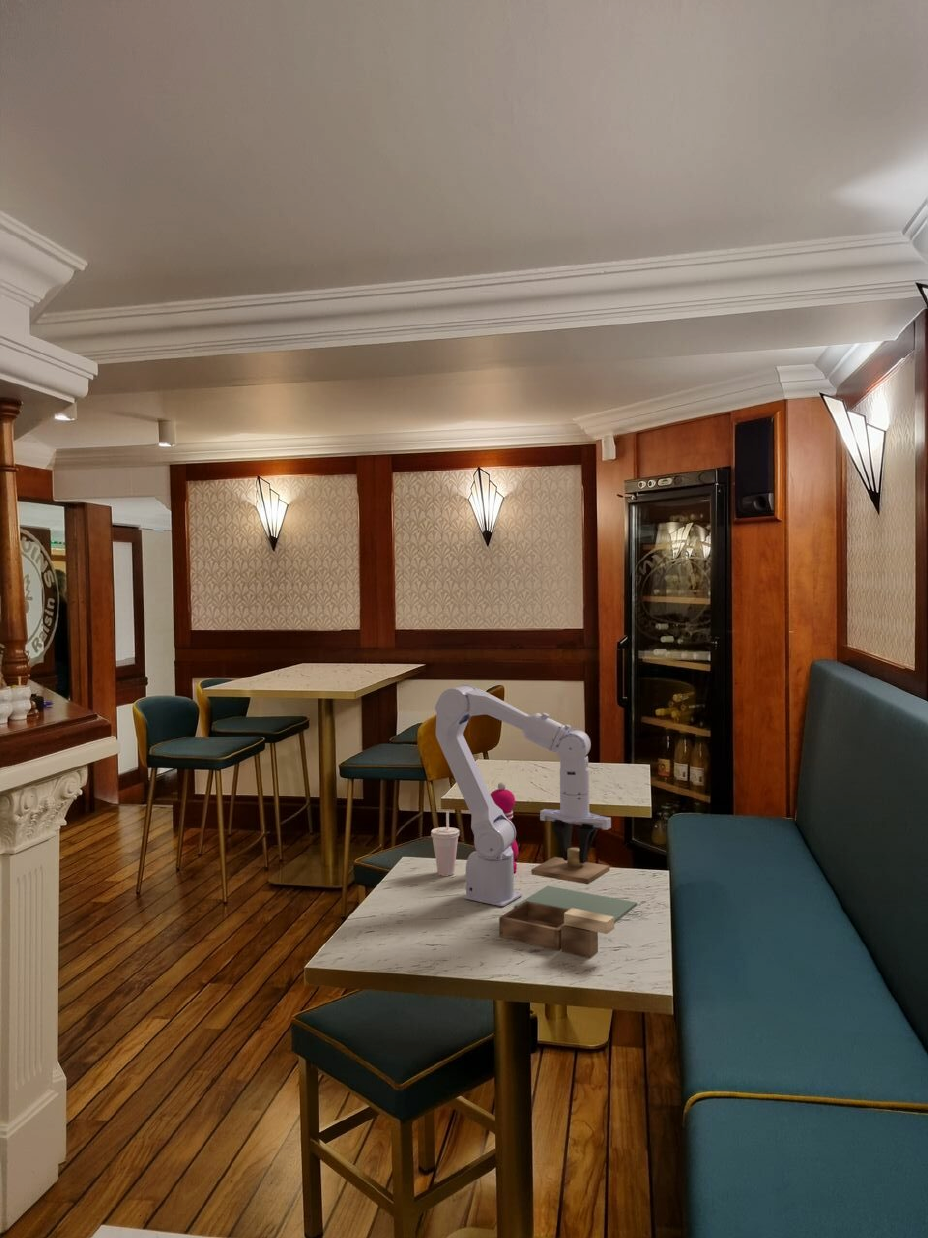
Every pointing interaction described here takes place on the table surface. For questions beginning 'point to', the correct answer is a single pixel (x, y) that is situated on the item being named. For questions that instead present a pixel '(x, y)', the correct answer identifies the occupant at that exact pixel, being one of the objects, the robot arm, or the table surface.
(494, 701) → the robot arm
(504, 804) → the pepper mill
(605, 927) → the block
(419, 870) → the table surface
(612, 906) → the mat
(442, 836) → the smoothie
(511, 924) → the open wooden box
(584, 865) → the lid
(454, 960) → the table surface
